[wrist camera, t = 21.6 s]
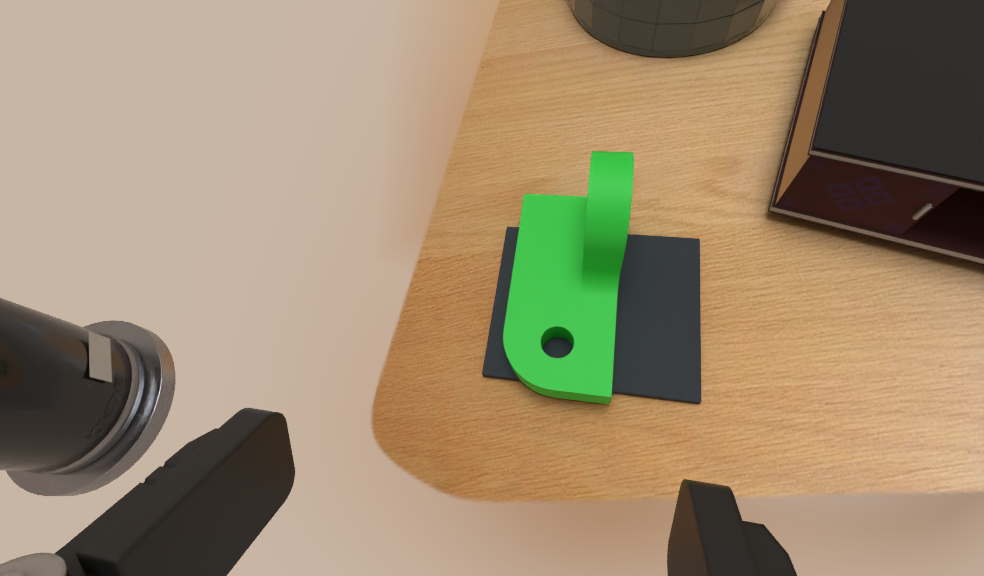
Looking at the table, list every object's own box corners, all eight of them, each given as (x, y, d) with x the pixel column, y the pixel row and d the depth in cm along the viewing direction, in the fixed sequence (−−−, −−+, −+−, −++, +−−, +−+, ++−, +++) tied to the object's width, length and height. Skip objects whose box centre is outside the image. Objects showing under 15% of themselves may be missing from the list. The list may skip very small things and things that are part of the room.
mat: (483, 376, 28) (481, 374, 27) (507, 230, 32) (507, 226, 31) (699, 404, 26) (701, 402, 25) (697, 242, 29) (699, 238, 29)
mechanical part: (526, 211, 32) (514, 126, 24) (619, 216, 30) (635, 128, 23) (500, 390, 27) (475, 351, 20) (608, 404, 26) (623, 367, 19)
